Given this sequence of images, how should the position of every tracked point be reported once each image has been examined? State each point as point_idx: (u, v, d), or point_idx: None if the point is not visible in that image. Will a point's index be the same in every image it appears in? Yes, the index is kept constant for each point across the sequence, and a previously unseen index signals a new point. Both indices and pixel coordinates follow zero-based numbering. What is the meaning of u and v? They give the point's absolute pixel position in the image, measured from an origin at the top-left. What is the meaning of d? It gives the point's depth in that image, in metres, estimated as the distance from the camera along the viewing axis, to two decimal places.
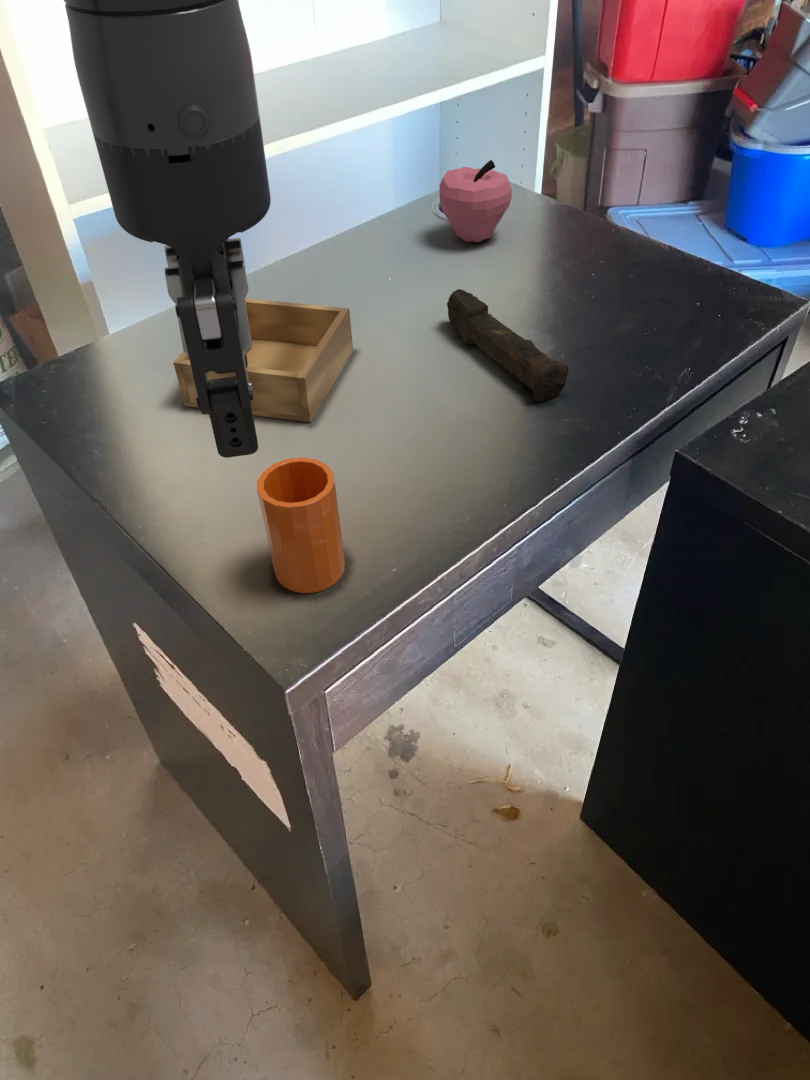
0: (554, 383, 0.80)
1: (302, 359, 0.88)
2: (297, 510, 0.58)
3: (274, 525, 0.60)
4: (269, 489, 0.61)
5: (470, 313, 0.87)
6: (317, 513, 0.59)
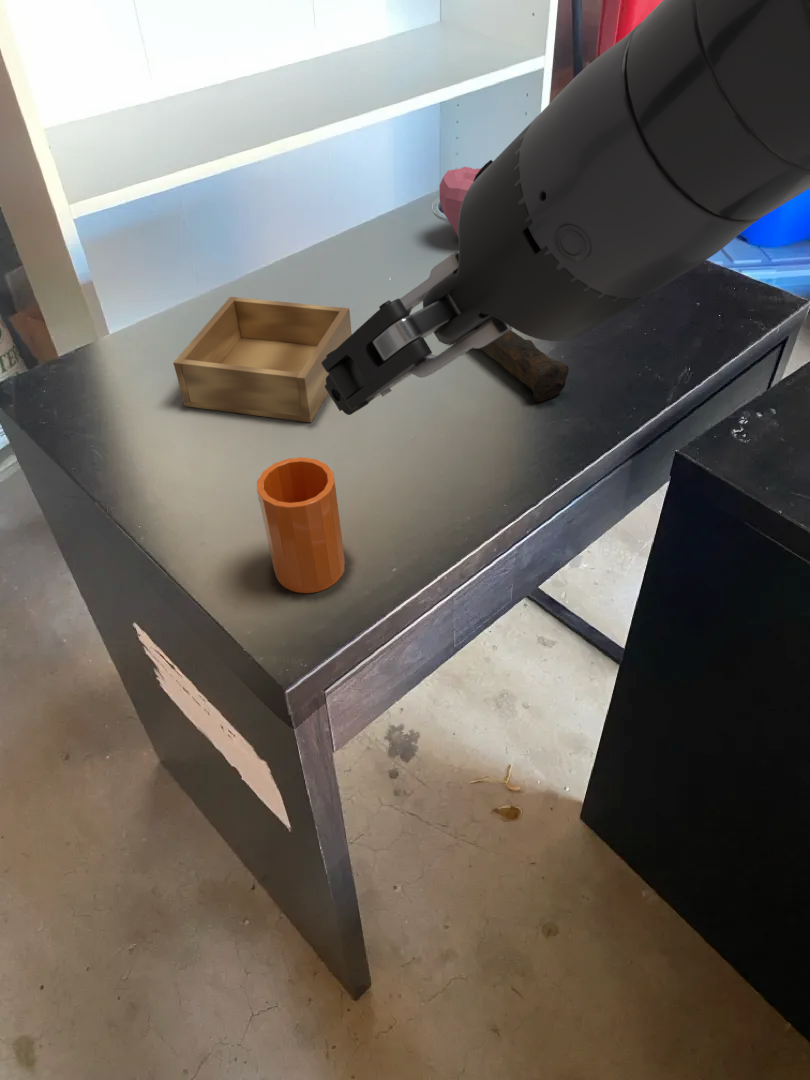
0: (554, 383, 0.80)
1: (302, 359, 0.88)
2: (297, 510, 0.58)
3: (274, 525, 0.60)
4: (269, 489, 0.61)
5: None
6: (317, 513, 0.59)
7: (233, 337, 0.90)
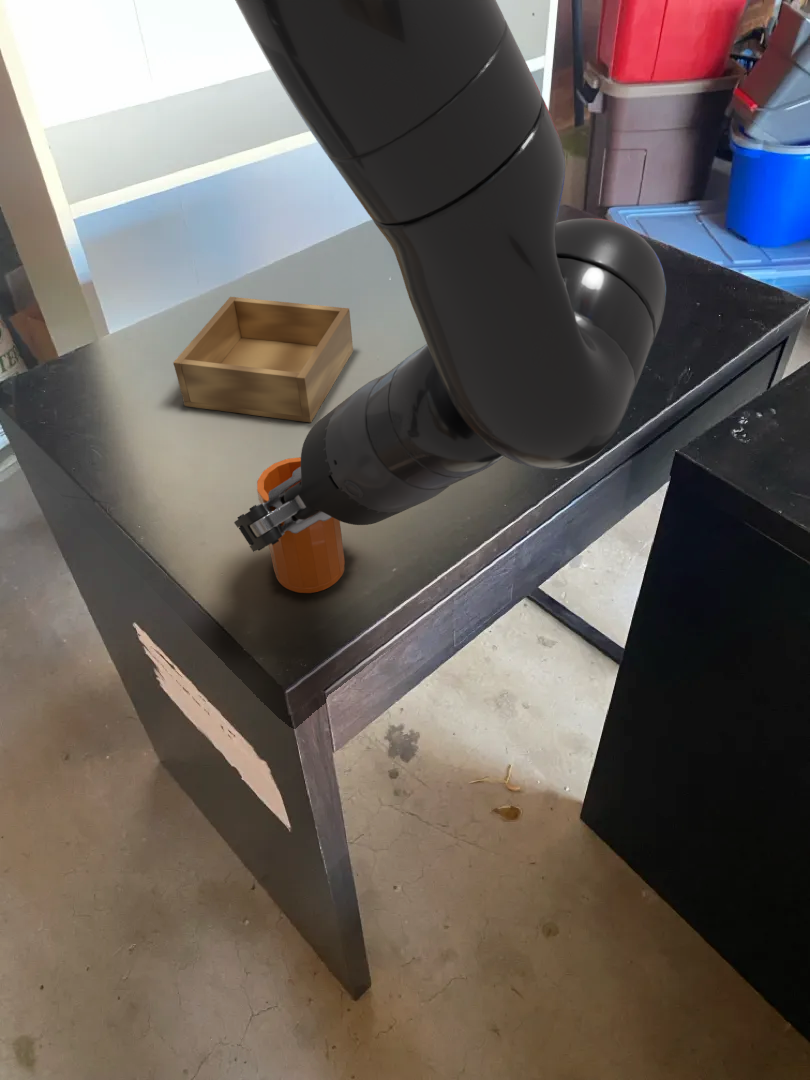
0: None
1: (302, 359, 0.88)
2: None
3: None
4: (269, 489, 0.61)
5: None
6: None
7: (233, 337, 0.90)
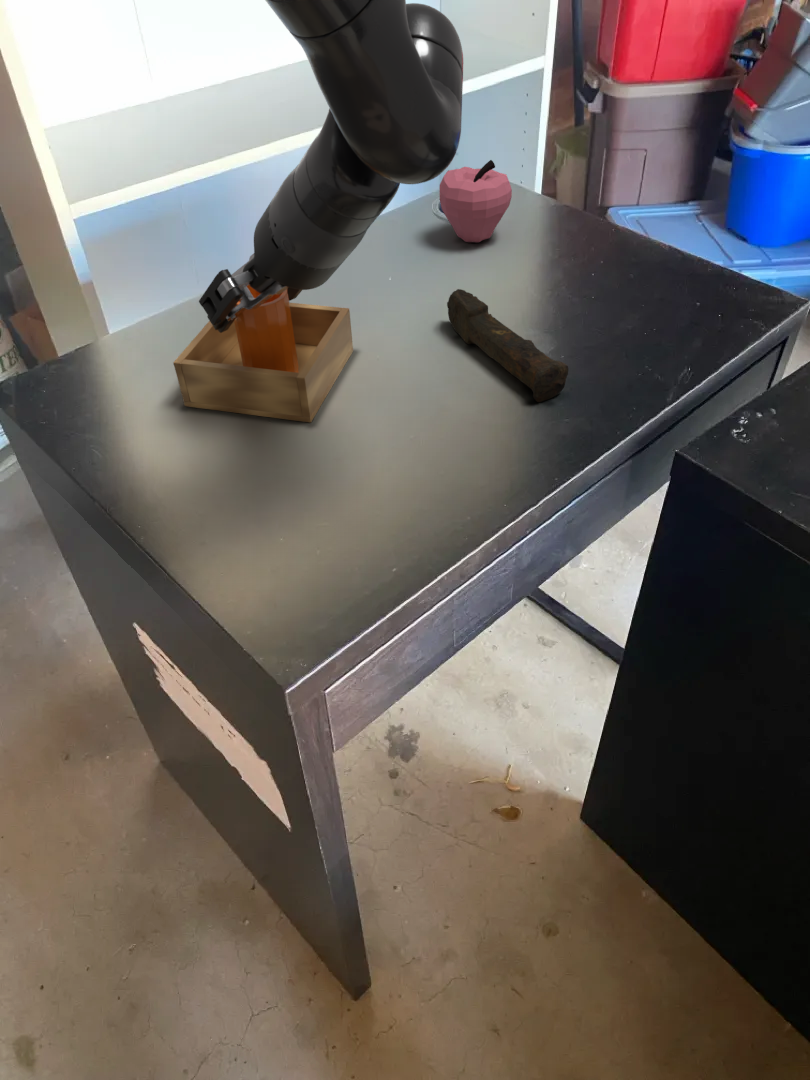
0: (554, 384, 0.80)
1: (302, 359, 0.88)
2: (259, 310, 0.78)
3: (242, 325, 0.80)
4: (239, 302, 0.81)
5: (470, 313, 0.87)
6: (274, 314, 0.79)
7: (233, 337, 0.90)
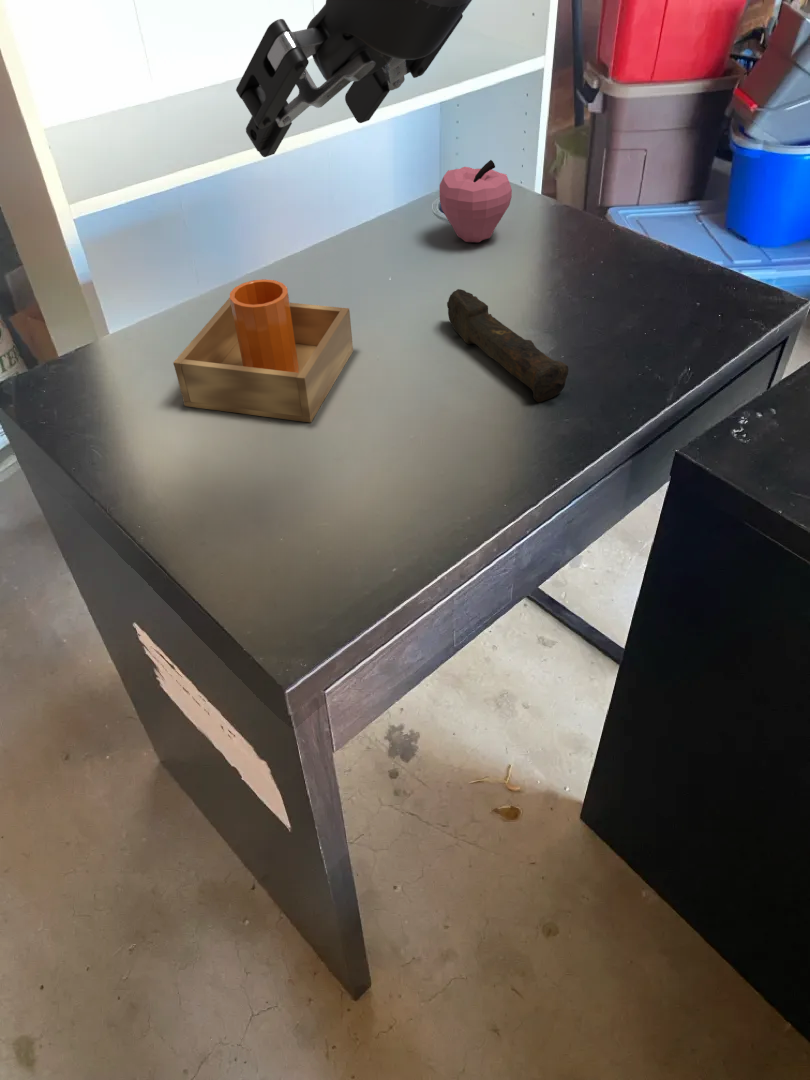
0: (554, 384, 0.80)
1: (302, 359, 0.88)
2: (259, 310, 0.78)
3: (242, 325, 0.80)
4: (239, 302, 0.81)
5: (470, 313, 0.87)
6: (274, 314, 0.79)
7: (233, 337, 0.90)
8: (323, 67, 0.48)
